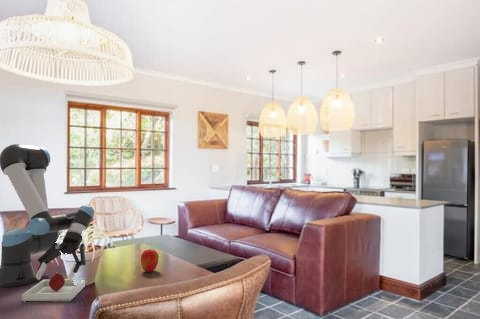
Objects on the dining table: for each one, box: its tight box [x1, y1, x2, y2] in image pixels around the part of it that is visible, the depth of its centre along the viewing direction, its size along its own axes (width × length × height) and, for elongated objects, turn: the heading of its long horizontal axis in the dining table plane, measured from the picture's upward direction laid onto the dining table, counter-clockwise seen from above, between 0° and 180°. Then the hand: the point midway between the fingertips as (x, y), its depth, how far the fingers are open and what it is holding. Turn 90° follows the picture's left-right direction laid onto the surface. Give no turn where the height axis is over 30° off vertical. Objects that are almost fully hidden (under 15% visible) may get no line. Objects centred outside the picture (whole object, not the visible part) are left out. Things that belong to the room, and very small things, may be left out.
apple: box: [140, 249, 160, 273], centre depth 172 cm, size 9×9×12 cm
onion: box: [49, 271, 66, 291], centre depth 139 cm, size 6×6×8 cm
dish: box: [21, 278, 86, 303], centre depth 139 cm, size 18×18×3 cm
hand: (53, 279), depth 137 cm, fingers open, 13 cm apart
